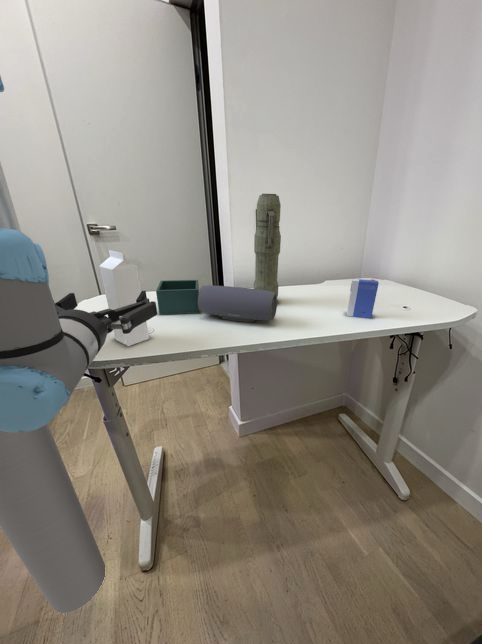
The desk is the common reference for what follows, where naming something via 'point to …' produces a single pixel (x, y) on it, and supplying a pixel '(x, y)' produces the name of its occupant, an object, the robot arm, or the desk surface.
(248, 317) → the bluetooth speaker
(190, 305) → the box
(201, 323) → the desk surface
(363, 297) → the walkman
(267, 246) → the thermos
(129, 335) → the milk
